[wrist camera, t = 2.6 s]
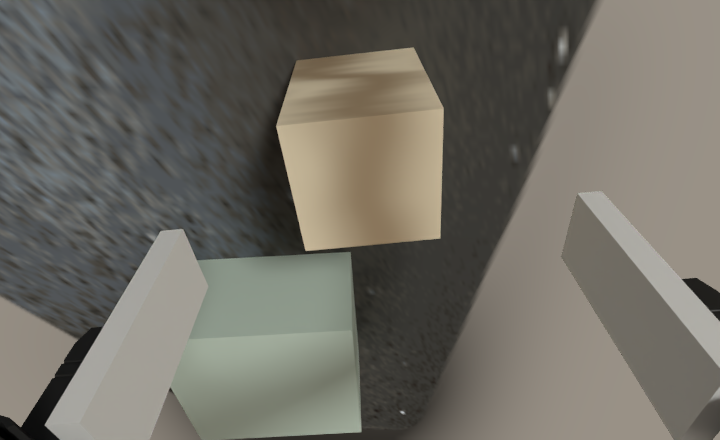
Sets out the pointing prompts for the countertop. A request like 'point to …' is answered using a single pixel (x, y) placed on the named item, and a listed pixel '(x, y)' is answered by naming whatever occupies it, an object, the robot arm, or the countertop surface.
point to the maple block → (363, 149)
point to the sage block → (273, 349)
